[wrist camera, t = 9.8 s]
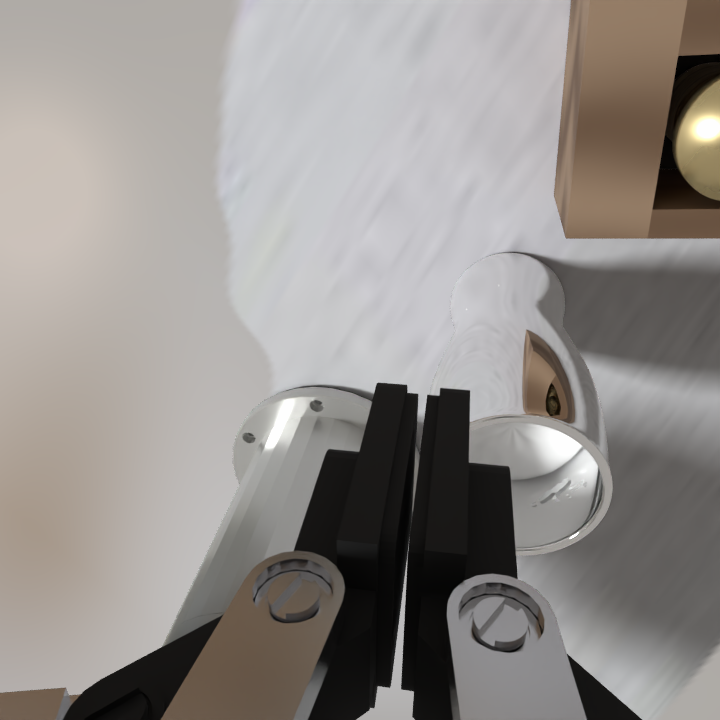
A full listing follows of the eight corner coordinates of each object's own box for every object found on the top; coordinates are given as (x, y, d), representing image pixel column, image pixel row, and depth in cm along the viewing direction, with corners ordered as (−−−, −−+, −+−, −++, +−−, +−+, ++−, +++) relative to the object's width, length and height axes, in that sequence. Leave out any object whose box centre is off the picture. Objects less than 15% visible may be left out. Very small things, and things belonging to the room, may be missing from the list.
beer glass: (601, 287, 34) (666, 476, 22) (521, 379, 38) (536, 587, 25) (489, 218, 34) (489, 374, 21) (418, 319, 37) (381, 504, 25)
